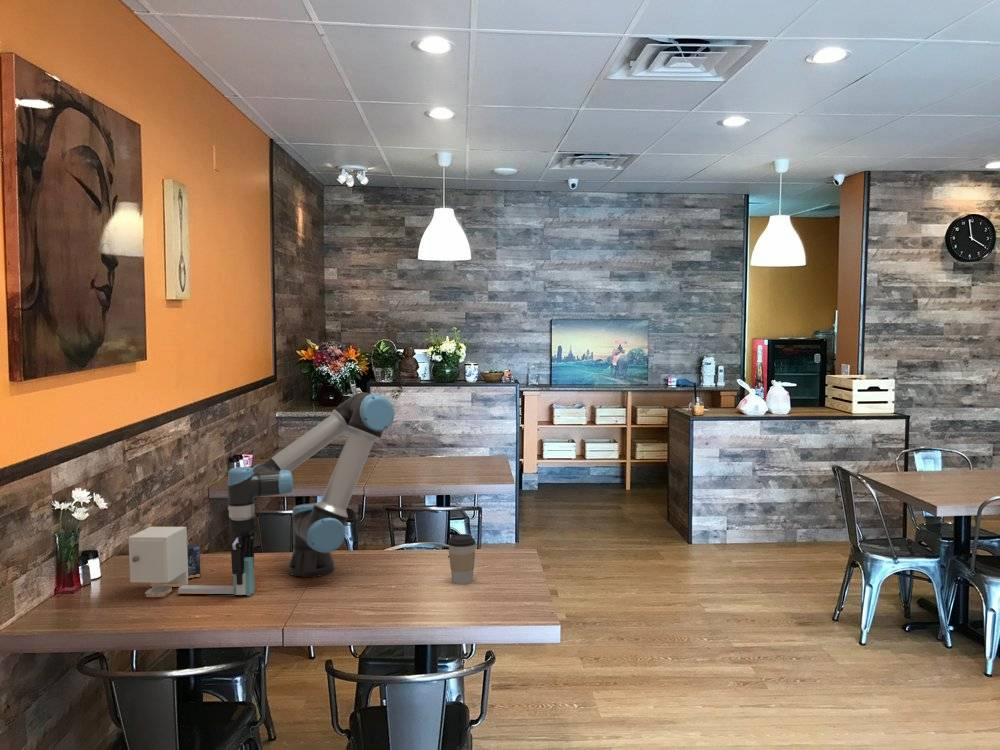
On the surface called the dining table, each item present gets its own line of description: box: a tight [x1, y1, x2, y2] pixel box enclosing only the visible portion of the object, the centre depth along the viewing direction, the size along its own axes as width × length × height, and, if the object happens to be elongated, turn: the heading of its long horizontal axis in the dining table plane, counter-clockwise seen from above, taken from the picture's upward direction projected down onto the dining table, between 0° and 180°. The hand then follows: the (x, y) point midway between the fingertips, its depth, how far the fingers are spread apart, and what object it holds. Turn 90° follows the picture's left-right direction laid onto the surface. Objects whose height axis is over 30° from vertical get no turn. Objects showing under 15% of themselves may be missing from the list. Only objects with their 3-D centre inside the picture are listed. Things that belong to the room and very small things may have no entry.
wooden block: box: [144, 586, 172, 595], centre depth 245 cm, size 6×6×2 cm
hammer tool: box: [177, 557, 256, 597], centre depth 244 cm, size 23×4×11 cm, turn 86°
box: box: [187, 543, 201, 576], centre depth 261 cm, size 8×6×11 cm
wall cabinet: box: [128, 526, 189, 585], centre depth 245 cm, size 12×14×20 cm
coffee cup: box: [447, 533, 477, 585], centre depth 254 cm, size 9×9×15 cm
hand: (244, 591), depth 243 cm, fingers closed on hammer tool, 4 cm apart
